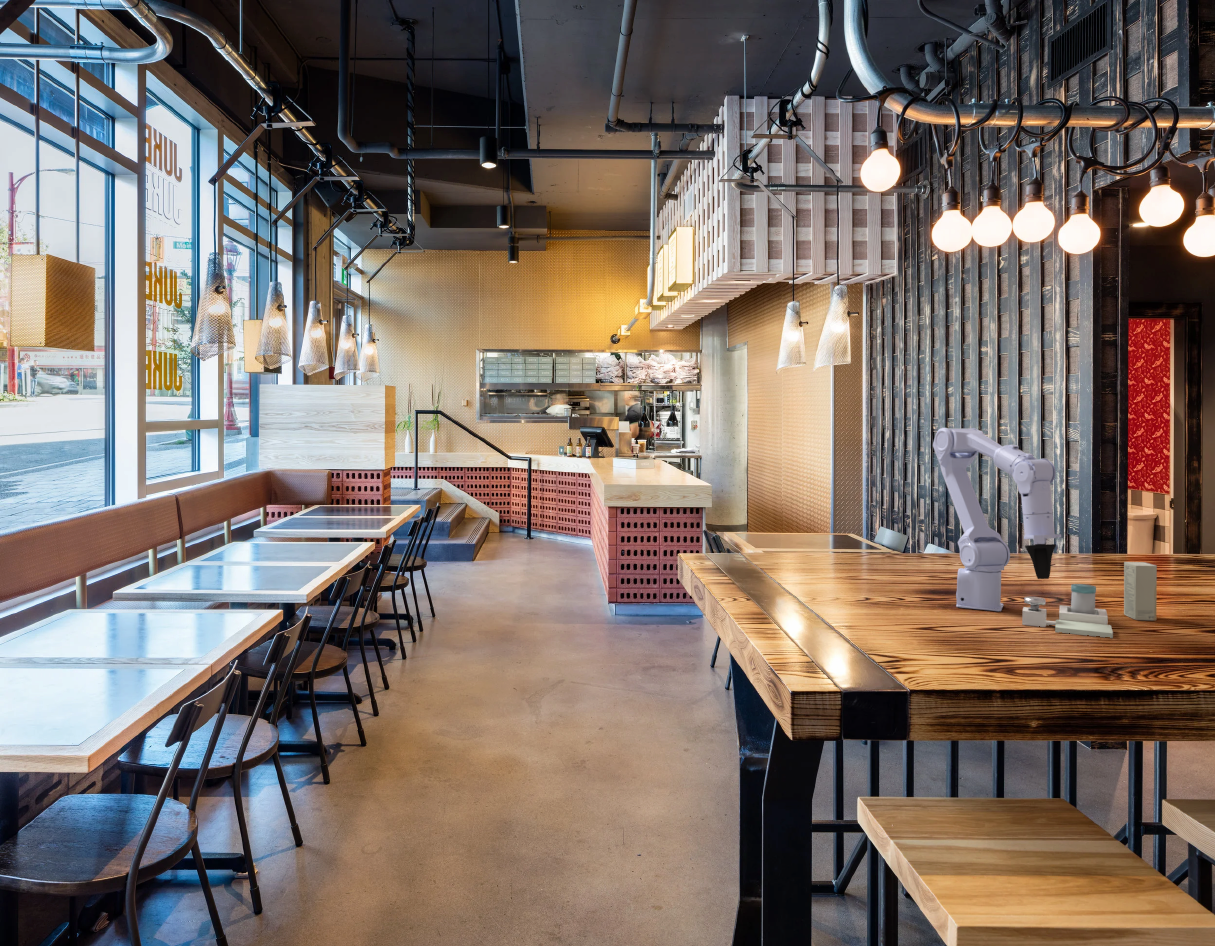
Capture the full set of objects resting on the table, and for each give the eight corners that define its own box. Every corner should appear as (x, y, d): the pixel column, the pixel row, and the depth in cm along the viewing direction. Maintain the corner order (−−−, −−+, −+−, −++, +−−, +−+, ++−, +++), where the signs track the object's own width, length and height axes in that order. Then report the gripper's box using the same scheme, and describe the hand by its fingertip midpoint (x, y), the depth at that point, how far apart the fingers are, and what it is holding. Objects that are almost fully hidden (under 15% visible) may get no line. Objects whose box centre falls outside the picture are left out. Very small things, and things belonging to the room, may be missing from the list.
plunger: (1023, 615, 170) (1024, 599, 170) (1024, 612, 174) (1024, 595, 174) (1044, 618, 168) (1045, 601, 168) (1045, 614, 172) (1045, 597, 172)
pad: (1055, 632, 164) (1055, 627, 164) (1055, 624, 171) (1055, 619, 171) (1112, 638, 159) (1112, 633, 159) (1110, 630, 166) (1111, 625, 166)
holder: (1022, 624, 170) (1022, 610, 170) (1025, 612, 182) (1025, 599, 182) (1108, 633, 162) (1108, 619, 162) (1105, 620, 174) (1106, 607, 174)
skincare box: (1156, 621, 174) (1158, 566, 173) (1134, 620, 175) (1136, 565, 174) (1143, 615, 180) (1145, 561, 180) (1121, 614, 181) (1123, 561, 180)
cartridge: (1070, 623, 172) (1071, 586, 171) (1070, 619, 176) (1071, 583, 175) (1095, 626, 169) (1096, 588, 169) (1094, 621, 173) (1095, 585, 173)
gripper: (1058, 512, 163) (1065, 579, 162) (1059, 514, 176) (1065, 576, 175) (1020, 514, 167) (1026, 579, 165) (1023, 516, 179) (1028, 577, 178)
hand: (1043, 578), depth 170 cm, fingers open, 7 cm apart
